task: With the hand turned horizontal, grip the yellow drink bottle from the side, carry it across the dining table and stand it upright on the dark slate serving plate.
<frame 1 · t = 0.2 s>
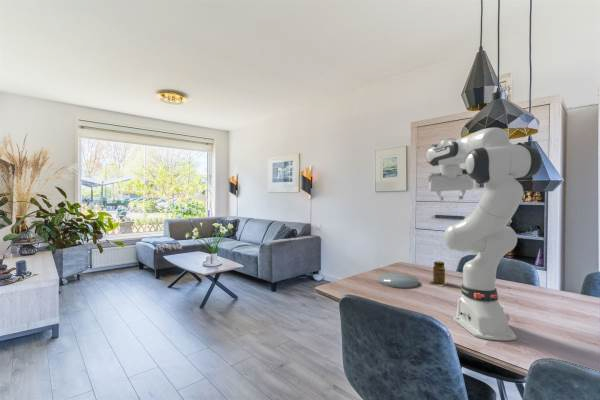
hand: (451, 199, 146), 48 cm above the table, tool pointing down, fingers open, 8 cm apart
slate plate: (397, 281, 170), on the table
yellow drink bottle: (438, 283, 167), on the table
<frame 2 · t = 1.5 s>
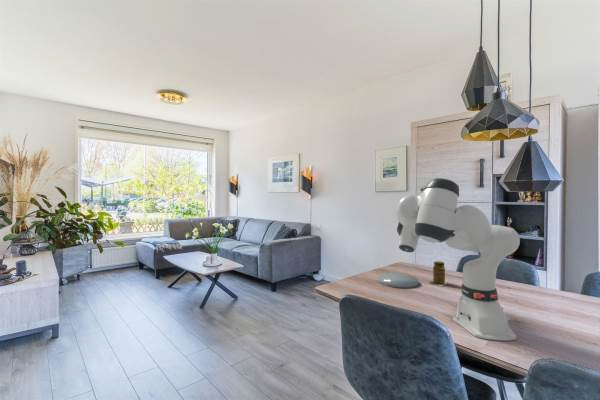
hand: (415, 206, 157), 44 cm above the table, tool pointing upward, fingers open, 8 cm apart
nothing on the table moved.
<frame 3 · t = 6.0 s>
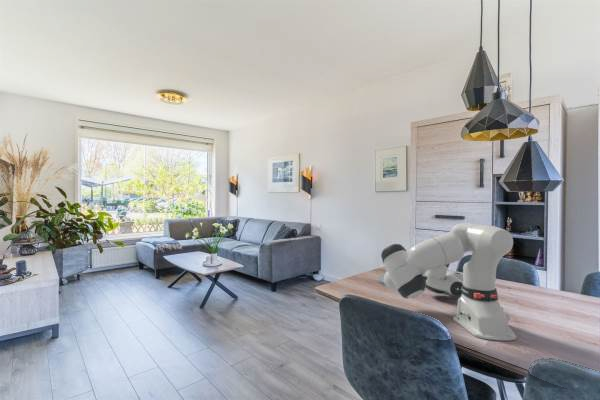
hand: (437, 272, 167), 6 cm above the table, tool horizontal, fingers open, 8 cm apart
yellow drink bottle: (438, 283, 167), on the table, touching gripper
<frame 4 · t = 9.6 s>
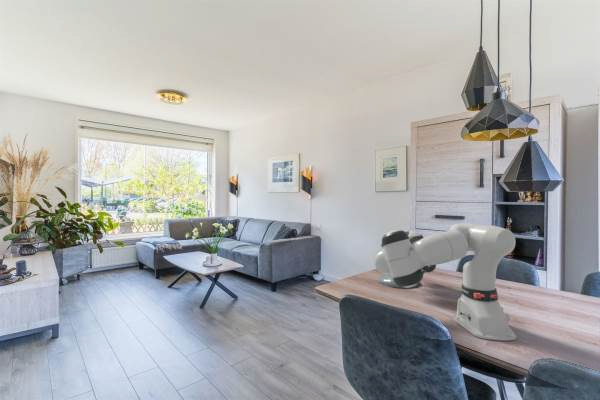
hand: (414, 251, 170), 18 cm above the table, tool horizontal, fingers closed on yellow drink bottle, 6 cm apart
yellow drink bottle: (414, 262, 170), point 11 cm above the table, touching gripper
when the fingers open (9 cm above the table, at t = 12.3 s): yellow drink bottle stays where it is, resting on slate plate.
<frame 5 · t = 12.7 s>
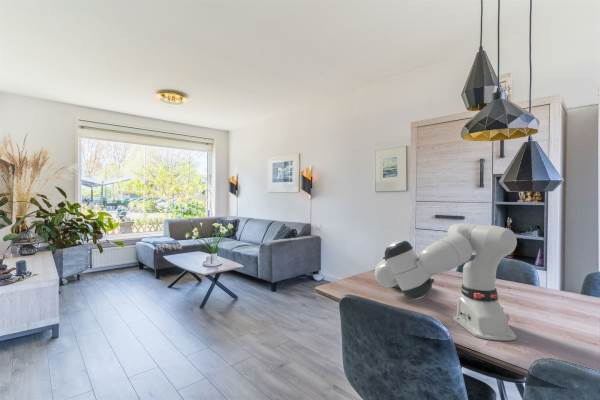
hand: (397, 265, 171), 9 cm above the table, tool horizontal, fingers open, 8 cm apart
yellow drink bottle: (397, 278, 170), point 2 cm above the table, touching slate plate
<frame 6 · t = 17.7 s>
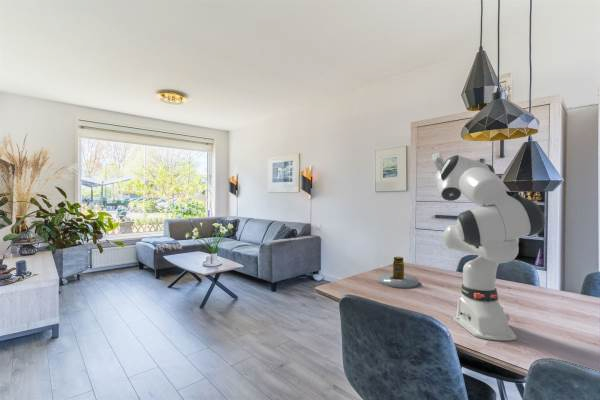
hand: (442, 166, 144), 64 cm above the table, tool pointing upward, fingers open, 8 cm apart
nothing on the table moved.
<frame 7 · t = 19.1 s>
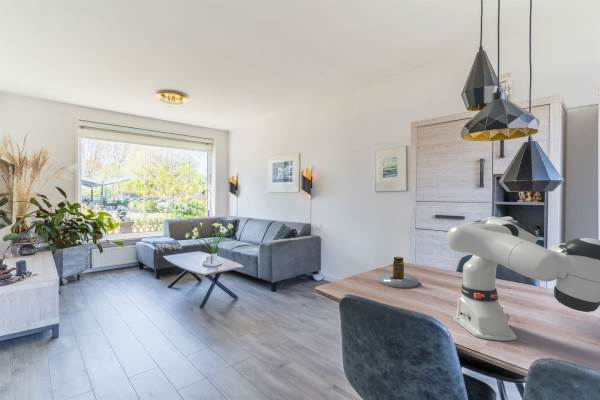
hand: (483, 221, 148), 37 cm above the table, tool horizontal, fingers open, 8 cm apart
nothing on the table moved.
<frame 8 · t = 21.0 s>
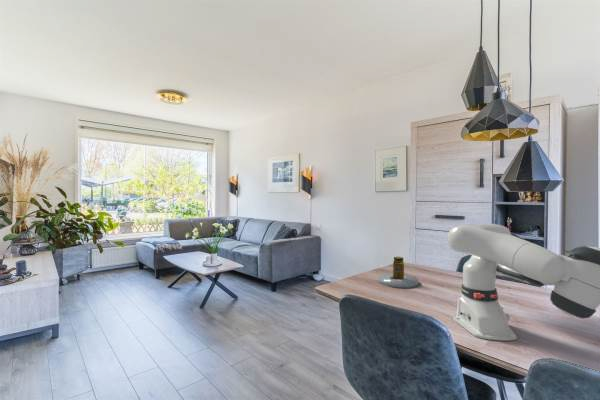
hand: (472, 230, 150), 32 cm above the table, tool horizontal, fingers open, 8 cm apart
nothing on the table moved.
at the end: yellow drink bottle inside the target area on the slate plate (0.3 cm from its centre), point 1.8 cm above the slate plate's base; yellow drink bottle tilted 0°; the gripper is holding nothing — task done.
